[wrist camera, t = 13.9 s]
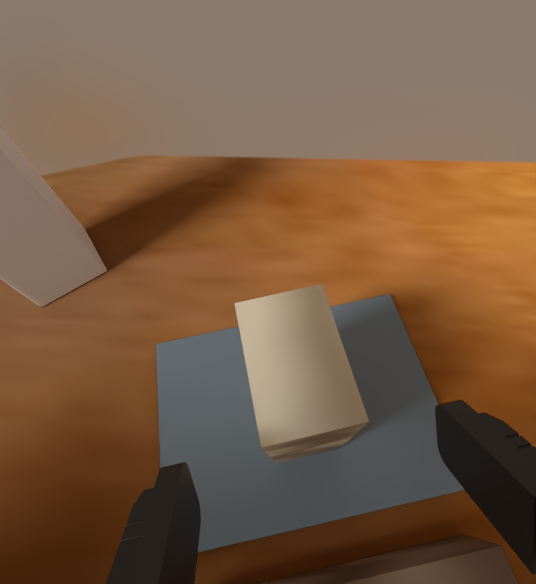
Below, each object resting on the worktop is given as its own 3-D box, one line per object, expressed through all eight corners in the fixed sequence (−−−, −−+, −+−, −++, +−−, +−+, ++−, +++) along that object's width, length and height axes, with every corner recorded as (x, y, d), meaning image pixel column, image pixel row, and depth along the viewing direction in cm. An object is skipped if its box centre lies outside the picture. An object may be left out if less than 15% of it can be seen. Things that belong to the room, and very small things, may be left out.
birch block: (276, 463, 21) (261, 447, 12) (257, 369, 24) (234, 303, 15) (340, 448, 21) (369, 421, 12) (313, 356, 24) (321, 283, 15)
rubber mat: (166, 559, 19) (163, 560, 19) (157, 346, 26) (156, 344, 25) (472, 487, 20) (475, 487, 20) (389, 296, 26) (390, 294, 26)
